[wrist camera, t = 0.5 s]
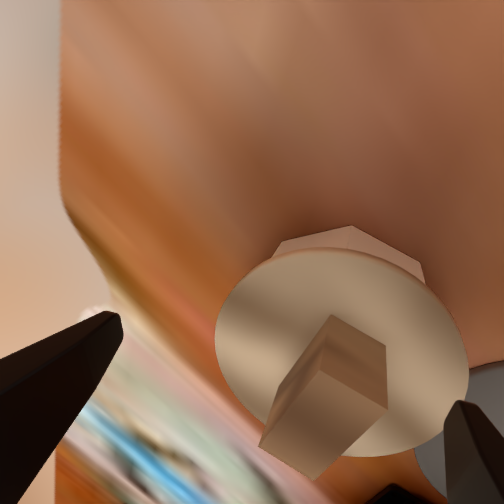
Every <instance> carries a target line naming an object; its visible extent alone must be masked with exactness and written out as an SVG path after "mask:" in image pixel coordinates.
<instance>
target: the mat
mask: <svg viewBox="0 0 504 504" xmlns="http://www.w3.org/2000/svg"><path fill="white" fill-rule="evenodd" d="M464 401H467V402H471V403H475V404H476V405H478V406H479V407H480V408H481V410H482V411H483V412H484V413H485V415H486V416H487V417H488V418H489V420H490V421H491V422H492V423H493V425H494V426H495V427H496V428H497V430H498V431H499V432H500V433H501V435H502V436H503V437H504V361H500V362H495V363H490V364H486V365H483V366H479V367H476V368H473V369H470V370H469V380H468V389H467V392H466V396H465V399H464ZM414 450H415V456H416V459H417V461H418V464H419V466H420V468H421V470H422V472H423V474H424V475H425V477H426V478H427V479H428V480H429V482H430V483H431V484H432V485H433V486H434V487H435V488H436V489H437V490H438V491H439V493H441V494H442V495H443V496H444V497H445V498H447V492H446V475H445V455H444V435H443V430H442V431H441V432H440V433H439V434H438V435H436V436H435V437H433V438H432V439H430V440H429V441H427V442H425V443H423V444H421V445H419V446H417V447H415V448H414Z"/></svg>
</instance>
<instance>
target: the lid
mask: <svg viewBox="0 0 504 504" xmlns="http://www.w3.org/2000/svg"><path fill="white" fill-rule="evenodd" d="M215 349H216V355H217V359H218V363H219V366H220V369H221V371H222V374H223V376H224V378H225V380H226V382H227V384H228V386H229V387H230V388H231V390H232V391H233V393H234V394H235V396H236V397H237V398H238V400H239V401H240V402H241V403H242V404H243V405H244V407H245V408H246V409H248V410H249V411H250V412H251V413H252V414H253V415H254V416H255V417H256V418H257V419H259V420H260V421H261V422H262V423H263V424H265V428H264V431H263V434H262V437H261V440H260V443H259V446H258V447H260V448H261V449H263V450H264V451H266V452H268V453H269V454H271V455H272V456H274V457H276V458H277V459H279V460H281V461H282V462H284V463H285V464H287V465H289V466H290V467H292V468H293V469H295V470H297V471H298V472H300V473H301V474H303V475H305V476H306V477H308V478H309V479H311V480H313V481H314V480H315V479H316V478H317V477H319V476H320V475H321V474H322V473H323V472H324V471H325V470H326V469H327V468H328V467H329V466H330V465H331V464H332V463H333V462H334V461H335V460H336V459H337V458H338V457H340V456H341V455H343V456H354V457H375V456H384V455H390V454H395V453H400V452H403V451H406V450H409V449H412V448H415V447H417V446H419V445H421V444H423V443H425V442H427V441H429V440H430V439H432V438H433V437H435V436H436V435H438V434H439V433H440V432H441V431H442V430H443V425H444V421H445V418H446V416H447V415H448V413H449V411H450V409H451V408H452V406H453V404H454V402H455V401H457V400H463V401H464V399H465V396H466V392H467V389H468V380H469V367H468V358H467V354H466V351H465V347H464V344H463V341H462V338H461V335H460V332H459V329H458V327H457V325H456V323H455V321H454V319H453V317H452V315H451V313H450V312H449V311H448V309H447V308H446V306H445V305H444V303H443V302H442V301H441V300H440V298H439V297H438V296H437V295H436V294H435V293H434V292H433V291H432V290H431V289H430V288H429V287H428V286H427V285H425V284H424V283H423V282H422V281H421V280H419V279H418V278H417V277H416V276H414V275H413V274H411V273H409V272H408V271H406V270H405V269H403V268H401V267H400V266H398V265H396V264H393V263H391V262H389V261H387V260H385V259H383V258H380V257H377V256H374V255H371V254H368V253H365V252H360V251H355V250H351V249H345V248H334V247H311V248H304V249H298V250H293V251H289V252H286V253H282V254H279V255H277V256H274V257H272V258H270V259H268V260H265V261H264V262H262V263H261V264H259V265H257V266H256V267H254V268H253V269H252V270H251V271H249V272H248V273H247V274H246V275H245V276H244V277H243V278H242V279H241V280H240V281H239V282H238V284H237V285H236V286H235V287H234V289H233V290H232V291H231V293H230V294H229V295H228V297H227V299H226V300H225V302H224V304H223V305H222V308H221V310H220V313H219V315H218V318H217V323H216V328H215Z"/></svg>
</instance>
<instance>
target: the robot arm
mask: <svg viewBox="0 0 504 504" xmlns="http://www.w3.org/2000/svg"><path fill="white" fill-rule="evenodd" d="M122 340H123V328H122V323H121V318H120V315H119V314H117V313H114V312H110V311H103V312H101V313H99V314H96V315H94V316H92V317H90V318H88V319H86V320H83V321H81V322H79V323H77V324H75V325H73V326H71V327H68V328H66V329H64V330H62V331H60V332H58V333H55V334H53V335H51V336H49V337H47V338H45V339H43V340H40V341H38V342H36V343H34V344H32V345H30V346H27V347H25V348H23V349H21V350H19V351H17V352H14V353H12V354H10V355H8V356H6V357H4V358H2V359H0V504H17V503H18V501H19V500H20V498H21V497H22V496H23V494H24V493H25V491H26V490H27V488H28V487H29V486H30V484H31V483H32V481H33V480H34V478H35V477H36V475H37V474H38V472H39V471H40V470H41V468H42V467H43V465H44V463H45V462H46V461H47V459H48V458H49V457H50V455H51V453H52V452H53V451H54V449H55V448H56V446H57V445H58V443H59V442H60V441H61V439H62V438H63V436H64V435H65V433H66V432H67V430H68V429H69V427H70V426H71V424H72V423H73V422H74V420H75V419H76V417H77V416H78V414H79V413H80V411H81V410H82V408H83V407H84V406H85V404H86V403H87V401H88V400H89V398H90V397H91V395H92V394H93V392H94V391H95V389H96V388H97V386H98V384H99V383H100V381H101V379H102V377H103V375H104V374H105V372H106V370H107V368H108V366H109V364H110V363H111V361H112V359H113V357H114V355H115V354H116V352H117V350H118V348H119V346H120V344H121V343H122ZM443 435H444V455H445V475H446V492H447V501H448V504H504V437H503V436H502V435H501V433H500V432H499V431H498V430H497V428H496V427H495V426H494V425H493V423H492V422H491V421H490V420H489V418H488V417H487V416H486V415H485V413H484V412H483V411H482V410H481V408H480V407H479V406H478V405H476V404H475V403H471V402H467V401H463V400H457V401H455V402H454V404H453V406H452V408H451V409H450V411H449V413H448V415H447V416H446V418H445V421H444V425H443ZM367 504H425V503H424V502H422V501H420V500H419V499H417V498H415V497H414V496H412V495H411V494H409V493H407V492H406V491H404V490H402V489H401V488H399V487H397V486H394V485H391V486H389V487H387V488H386V489H385V490H384V491H382V492H381V493H380V494H378V495H377V496H376V497H374V498H373V499H372V500H370V501H369V502H368V503H367Z"/></svg>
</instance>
